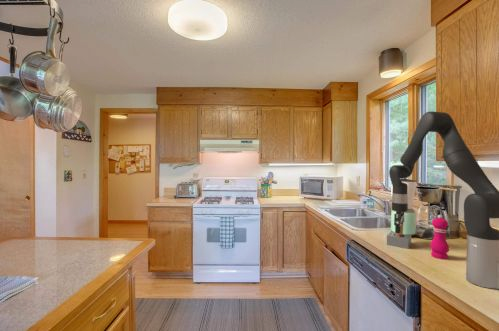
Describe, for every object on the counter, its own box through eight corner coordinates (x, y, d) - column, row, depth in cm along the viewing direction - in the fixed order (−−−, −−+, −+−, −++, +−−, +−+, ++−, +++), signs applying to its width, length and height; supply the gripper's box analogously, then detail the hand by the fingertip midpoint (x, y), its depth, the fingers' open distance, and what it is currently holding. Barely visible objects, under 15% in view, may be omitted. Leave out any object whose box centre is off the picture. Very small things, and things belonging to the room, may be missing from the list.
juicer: (399, 230, 165) (400, 177, 164) (421, 235, 153) (422, 179, 152) (382, 234, 155) (383, 178, 155) (404, 240, 144) (405, 179, 143)
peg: (403, 242, 136) (403, 224, 136) (401, 244, 134) (402, 225, 134) (396, 241, 139) (396, 223, 138) (394, 242, 136) (395, 224, 136)
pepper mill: (434, 258, 116) (435, 215, 116) (427, 253, 123) (427, 212, 123) (452, 260, 114) (453, 216, 114) (444, 254, 121) (444, 213, 121)
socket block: (411, 244, 137) (411, 235, 137) (408, 248, 129) (408, 239, 129) (390, 240, 143) (390, 231, 143) (386, 244, 136) (386, 235, 136)
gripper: (405, 204, 128) (404, 235, 128) (409, 201, 139) (409, 230, 139) (389, 202, 133) (388, 232, 133) (394, 199, 144) (394, 227, 144)
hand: (399, 231), depth 136 cm, fingers open, 8 cm apart
